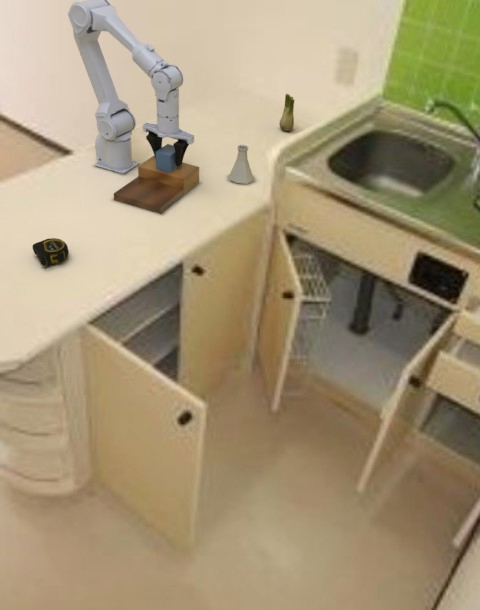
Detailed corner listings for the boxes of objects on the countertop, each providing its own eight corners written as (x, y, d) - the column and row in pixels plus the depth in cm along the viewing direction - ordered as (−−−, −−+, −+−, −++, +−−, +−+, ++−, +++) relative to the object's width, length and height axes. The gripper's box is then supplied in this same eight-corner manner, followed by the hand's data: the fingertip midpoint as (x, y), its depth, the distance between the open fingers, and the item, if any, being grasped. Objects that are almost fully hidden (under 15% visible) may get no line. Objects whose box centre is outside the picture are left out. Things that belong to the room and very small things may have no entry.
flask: (249, 186, 185) (251, 154, 179) (225, 181, 186) (226, 149, 180) (256, 176, 191) (258, 144, 185) (233, 171, 192) (234, 139, 186)
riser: (113, 200, 169) (112, 182, 167) (155, 170, 186) (155, 154, 183) (161, 213, 167) (160, 196, 164) (199, 182, 183) (199, 166, 180)
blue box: (156, 168, 176) (155, 151, 173) (167, 160, 181) (167, 143, 178) (170, 172, 175) (170, 155, 172) (181, 164, 180) (181, 147, 177)
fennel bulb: (292, 133, 220) (296, 99, 213) (278, 131, 220) (281, 97, 213) (293, 127, 225) (297, 93, 218) (279, 125, 225) (282, 91, 217)
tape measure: (33, 254, 145) (30, 240, 143) (63, 248, 149) (61, 234, 147) (41, 270, 141) (39, 256, 139) (73, 263, 145) (71, 249, 142)
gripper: (135, 112, 167) (137, 160, 175) (185, 125, 165) (185, 173, 173) (149, 104, 173) (151, 151, 181) (198, 116, 170) (197, 164, 178)
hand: (168, 161), depth 177 cm, fingers open, 6 cm apart
